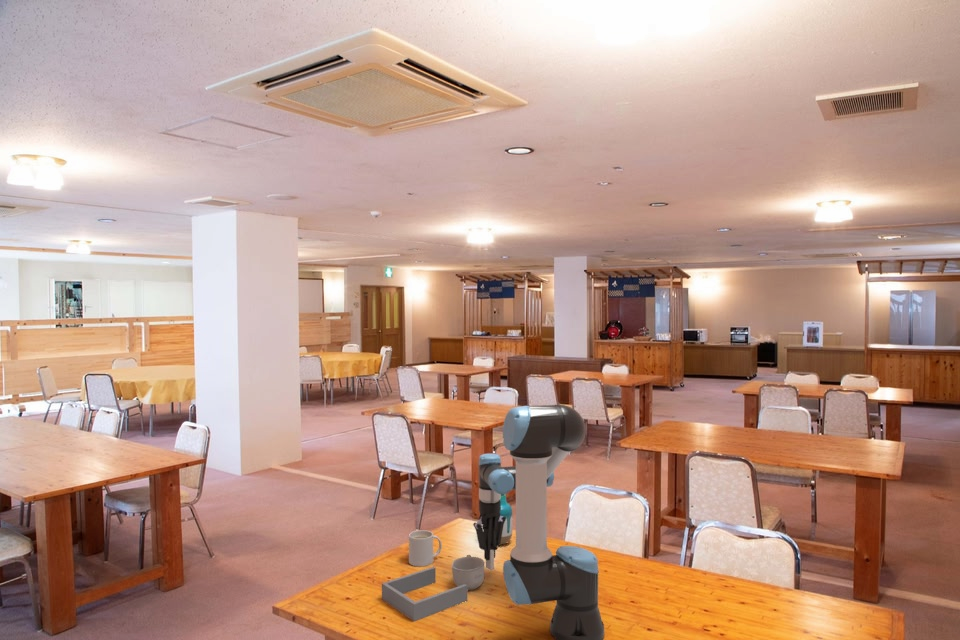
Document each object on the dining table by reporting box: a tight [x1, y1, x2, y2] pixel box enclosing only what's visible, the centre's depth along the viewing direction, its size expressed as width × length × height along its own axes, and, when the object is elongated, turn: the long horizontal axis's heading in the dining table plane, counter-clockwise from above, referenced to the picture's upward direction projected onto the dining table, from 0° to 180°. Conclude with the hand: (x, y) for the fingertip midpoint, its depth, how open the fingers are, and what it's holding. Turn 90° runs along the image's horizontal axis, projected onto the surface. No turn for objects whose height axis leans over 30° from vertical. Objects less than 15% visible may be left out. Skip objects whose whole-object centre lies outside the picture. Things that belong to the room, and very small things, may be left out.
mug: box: [408, 529, 443, 567], centre depth 225 cm, size 11×10×10 cm
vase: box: [500, 494, 514, 545], centre depth 243 cm, size 11×11×19 cm
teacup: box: [451, 554, 485, 591], centre depth 207 cm, size 14×11×8 cm
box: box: [381, 566, 468, 622], centre depth 195 cm, size 18×20×5 cm
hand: (489, 568), depth 213 cm, fingers closed
